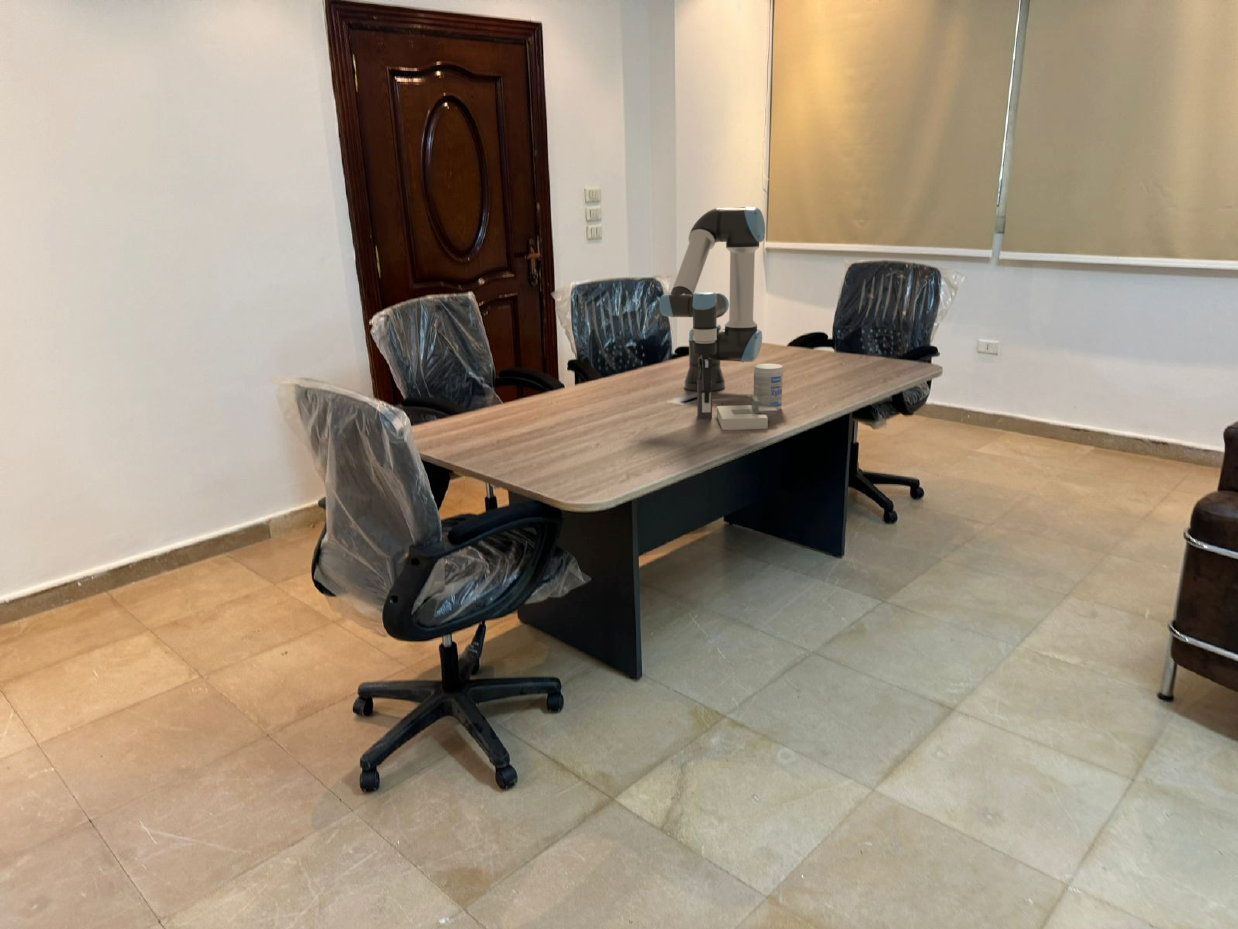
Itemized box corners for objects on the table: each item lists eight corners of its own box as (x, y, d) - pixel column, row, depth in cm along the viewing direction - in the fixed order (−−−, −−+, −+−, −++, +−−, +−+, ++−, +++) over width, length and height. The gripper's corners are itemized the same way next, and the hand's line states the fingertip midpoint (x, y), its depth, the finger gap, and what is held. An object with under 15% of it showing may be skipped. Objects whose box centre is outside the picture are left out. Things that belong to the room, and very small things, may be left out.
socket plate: (716, 416, 268) (716, 406, 267) (759, 415, 268) (759, 404, 267) (722, 430, 253) (722, 419, 252) (767, 428, 253) (767, 417, 252)
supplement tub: (776, 413, 269) (777, 369, 265) (748, 410, 274) (749, 367, 269) (785, 406, 277) (786, 364, 272) (759, 403, 282) (759, 362, 277)
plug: (697, 415, 270) (697, 379, 266) (710, 414, 270) (710, 379, 266) (698, 418, 266) (698, 383, 262) (712, 418, 266) (712, 382, 262)
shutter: (751, 407, 262) (751, 396, 261) (773, 407, 262) (773, 395, 261) (754, 413, 256) (755, 401, 255) (777, 412, 256) (777, 400, 255)
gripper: (690, 335, 271) (690, 398, 278) (696, 348, 249) (696, 417, 256) (712, 334, 271) (712, 398, 278) (720, 347, 249) (720, 416, 256)
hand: (704, 407), depth 267 cm, fingers open, 11 cm apart
